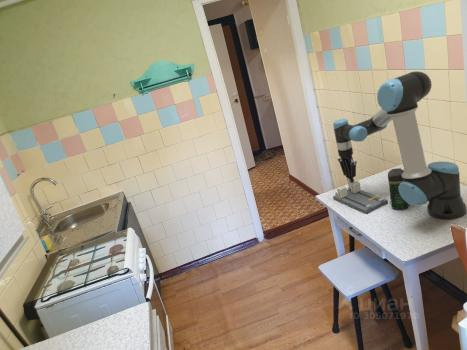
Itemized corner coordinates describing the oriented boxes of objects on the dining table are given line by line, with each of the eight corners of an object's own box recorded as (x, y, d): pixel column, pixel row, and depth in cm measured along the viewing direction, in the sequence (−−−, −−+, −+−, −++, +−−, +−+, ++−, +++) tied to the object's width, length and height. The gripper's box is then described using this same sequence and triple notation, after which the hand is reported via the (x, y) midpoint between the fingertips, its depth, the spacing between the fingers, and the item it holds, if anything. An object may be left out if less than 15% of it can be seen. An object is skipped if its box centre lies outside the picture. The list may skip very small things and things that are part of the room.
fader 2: (361, 190, 204) (359, 182, 202) (354, 193, 203) (353, 184, 201) (357, 189, 207) (355, 180, 205) (351, 191, 206) (349, 183, 204)
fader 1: (347, 195, 203) (346, 187, 201) (341, 198, 202) (340, 189, 200) (344, 193, 206) (342, 185, 204) (338, 196, 204) (336, 188, 203)
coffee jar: (409, 209, 178) (405, 174, 172) (391, 210, 181) (386, 175, 175) (408, 200, 186) (404, 166, 180) (391, 201, 189) (387, 167, 183)
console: (388, 203, 189) (387, 197, 187) (366, 214, 185) (365, 208, 184) (353, 190, 212) (352, 185, 211) (333, 199, 208) (332, 194, 207)
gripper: (358, 147, 195) (365, 188, 203) (342, 143, 207) (349, 182, 214) (347, 152, 193) (354, 193, 201) (331, 148, 205) (338, 187, 212)
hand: (351, 187), depth 208 cm, fingers closed
